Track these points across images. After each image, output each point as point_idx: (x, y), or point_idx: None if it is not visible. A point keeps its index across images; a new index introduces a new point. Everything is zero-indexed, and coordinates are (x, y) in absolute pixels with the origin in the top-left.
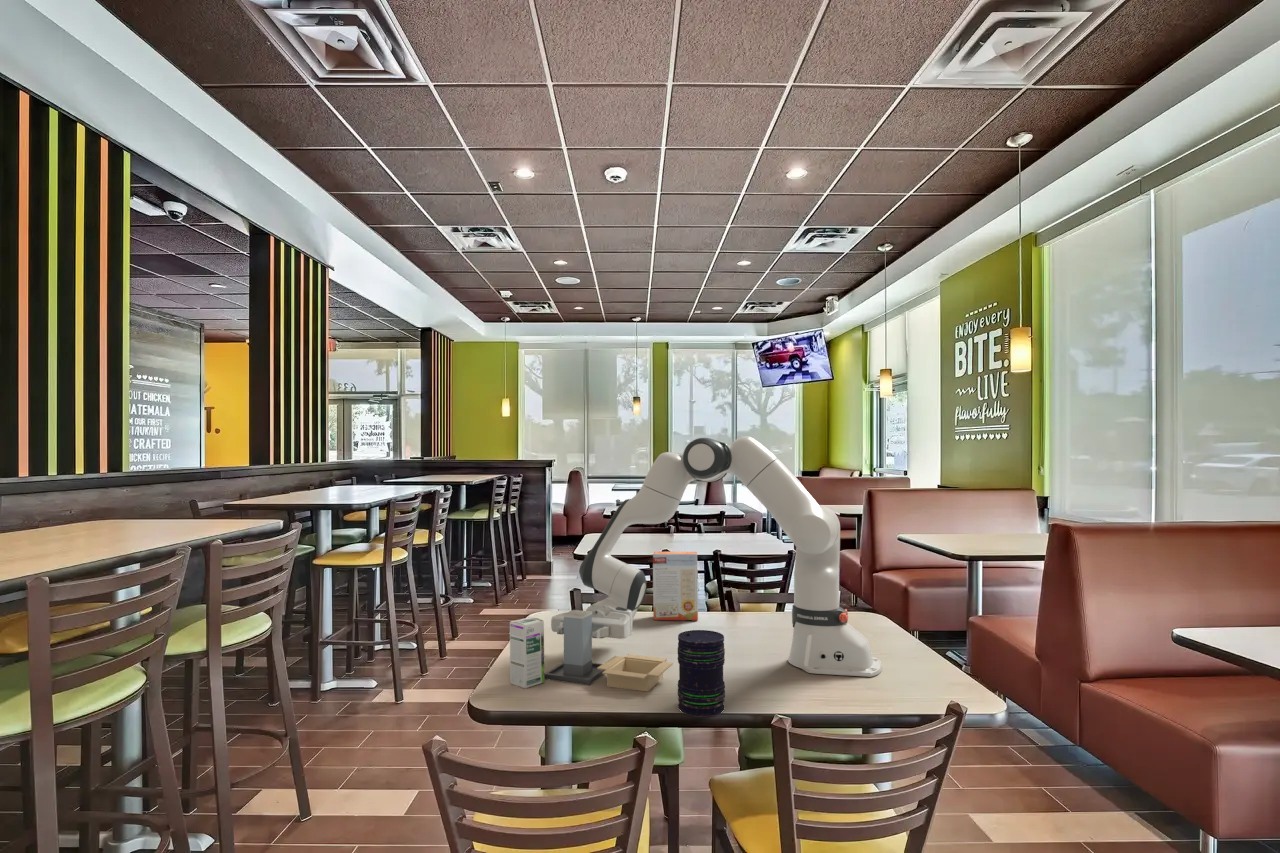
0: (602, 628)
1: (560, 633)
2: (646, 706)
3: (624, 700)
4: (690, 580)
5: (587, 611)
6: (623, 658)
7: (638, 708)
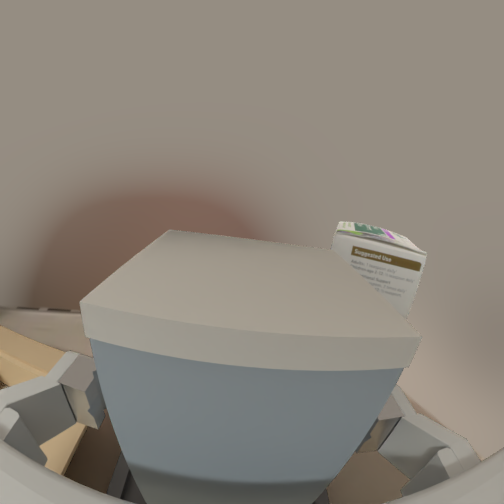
0: (27, 388)
1: None
2: (24, 324)
3: (53, 345)
4: None
5: (154, 303)
6: None
7: (38, 319)
